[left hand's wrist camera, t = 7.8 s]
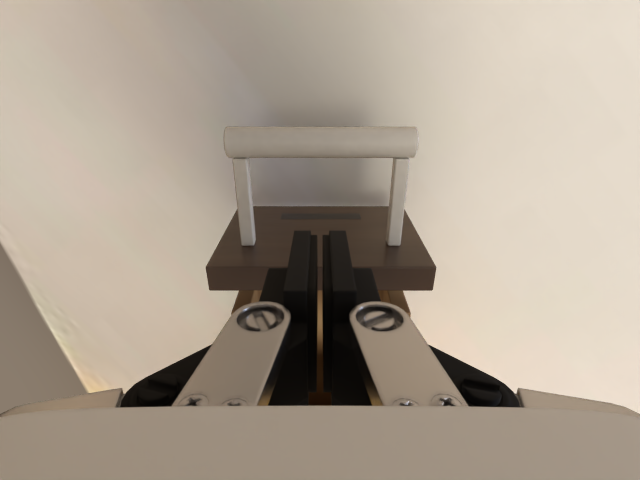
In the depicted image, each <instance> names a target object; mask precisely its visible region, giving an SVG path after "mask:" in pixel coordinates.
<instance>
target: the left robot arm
mask: <svg viewBox="0 0 640 480" xmlns="http://www.w3.org/2000/svg"><path fill="white" fill-rule="evenodd" d="M317 321H318V282H317V235H311V231H294V235H293V240H292V246H291V251H290V256H289V262H288V267H287V268H269V269H268V272H267V275H266V279H265V282H264V286H263V289H262V292H261V296H260V299H259V302H254V303H250V304H247V305H244V306H242V307H240V308H239V309H237V310H236V311H235V312H234V313H233V314H232V315H231V317H230V318H229V320H228V321H227V323H226V324H225V326H224V327H223V329H222V330H221V332H220V333H219V335H218V336H217V338H216V339H215V341H214V343H213V344H212V345H210V346H208V347H206V348H204V349H202V350H200V351H198V352H196V353H194V354H192V355H190V356H188V357H186V358H184V359H182V360H180V361H178V362H176V363H174V364H172V365H170V366H168V367H166V368H164V369H162V370H160V371H158V372H156V373H154V374H152V375H150V376H148V377H146V378H144V379H143V380H141V381H139V382H138V383H136V384H135V385H134V386H133V387H132V388H130V389H129V390H128V391H127V392H126V394H123V390H122V388H118V389H112V390H106V391H100V392H94V393H88V394H82V395H76V396H70V397H64V398H58V399H52V400H45V401H40V402H33V403H28V404H24V405H21V406H17V407H14V408H12V409H10V410H8V411H6V412H3V413H1V414H0V480H640V414H639V413H637V412H634V411H632V410H630V409H628V408H626V407H623V406H619V405H616V404H612V403H607V402H601V401H595V400H588V399H582V398H576V397H570V396H564V395H558V394H552V393H546V392H540V391H534V390H528V389H522V388H518V390H517V394H514V392H513V391H512V390H511V389H510V388H508V387H507V386H506V385H505V384H504V383H502V382H501V381H499V380H497V379H496V378H494V377H492V376H490V375H488V374H486V373H484V372H482V371H480V370H478V369H476V368H474V367H472V366H470V365H468V364H466V363H464V362H462V361H460V360H458V359H456V358H454V357H452V356H450V355H448V354H446V353H444V352H442V351H440V350H438V349H436V348H434V347H432V346H430V345H428V344H427V343H426V341H425V339H424V338H423V336H422V335H421V333H420V332H419V330H418V329H417V327H416V326H415V324H414V323H413V321H412V320H411V318H410V317H409V315H408V314H407V313H406V312H405V311H404V310H403V309H401V308H400V307H398V306H396V305H393V304H390V303H386V302H381V299H380V296H379V292H378V289H377V286H376V282H375V279H374V275H373V272H372V269H371V268H353V267H352V262H351V256H350V251H349V246H348V240H347V235H346V231H329V235H323V281H322V321H323V392H331V405H332V406H308V405H309V392H317Z"/></svg>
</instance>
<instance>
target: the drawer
mask: <svg viewBox="0 0 640 480" xmlns="http://www.w3.org/2000/svg"><path fill="white" fill-rule="evenodd" d="M418 141H419V136H418V130H417V128H416V127H226V128H225V131H224V148H225V152H226V155H227V157H229V158H233V169H234V179H235V188H236V197H237V207H238V209H237V211H236V213H235V214H234V216H233V218H232V220H231V222H230V224H229V225H228V227H227V229H226V231H225V233H224V235H223V236H222V238H221V240H220V242H219V244H218V246H217V247H216V249H215V251H214V253H213V255H212V257H211V259H210V260H209V262H208V264H207V266H206V272H207V278H208V284H209V290H239V292H238V295H237V298H236V301H235V304H234V307H233V310H232V313H231V315H232V314H233V313H234V312H235V311H236V310H237V309H239V308H240V307H242V306H244V305H247V304H250V303H254V302H259V299H260V296H261V292H262V289H263V286H264V282H265V279H266V275H267V272H268V269H269V268H287V267H288V262H289V256H290V251H291V246H292V240H293V235H294V231H311V235H317V282H318V321H317V392H309V405H308V406H332V405H331V392H323V321H322V281H323V235H329V231H346V235H347V240H348V246H349V251H350V256H351V262H352V267H353V268H371V269H372V272H373V275H374V279H375V282H376V286H377V289H378V292H379V296H380V299H381V302H386V303H390V304H393V305H396V306H398V307H400V308H401V309H403V310H404V311H405V312H406V313H407V314H408V315H409V317H410V314H411V313H410V310H409V307H408V304H407V301H406V299H405V296H404V293H403V290H433V285H434V279H435V272H436V266H435V264H434V262H433V260H432V259H431V257H430V255H429V253H428V251H427V249H426V248H425V246H424V244H423V242H422V240H421V239H420V237H419V235H418V233H417V231H416V230H415V228H414V226H413V224H412V222H411V220H410V219H409V217H408V215H407V213H406V211H405V210H404V207H405V198H406V189H407V180H408V170H409V161H410V160H409V158H413V157H415V156H416V153H417V150H418ZM249 158H393V167H392V178H391V190H390V201H389V206H253V200H252V189H251V177H250V165H249Z"/></svg>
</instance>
